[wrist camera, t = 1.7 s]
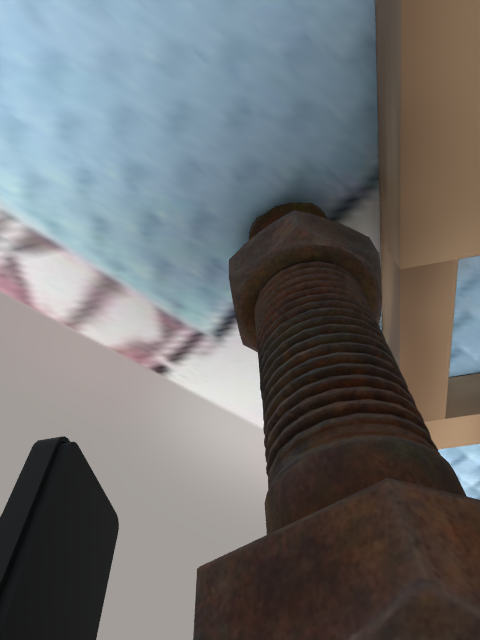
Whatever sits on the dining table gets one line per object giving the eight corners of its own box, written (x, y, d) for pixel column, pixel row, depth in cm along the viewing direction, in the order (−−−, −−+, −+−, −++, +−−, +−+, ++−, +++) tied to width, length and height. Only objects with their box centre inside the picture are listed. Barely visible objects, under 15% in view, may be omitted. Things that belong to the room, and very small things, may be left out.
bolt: (355, 287, 19) (580, 784, 7) (238, 305, 20) (251, 804, 7) (351, 147, 16) (758, 597, 4) (211, 172, 17) (151, 654, 4)
